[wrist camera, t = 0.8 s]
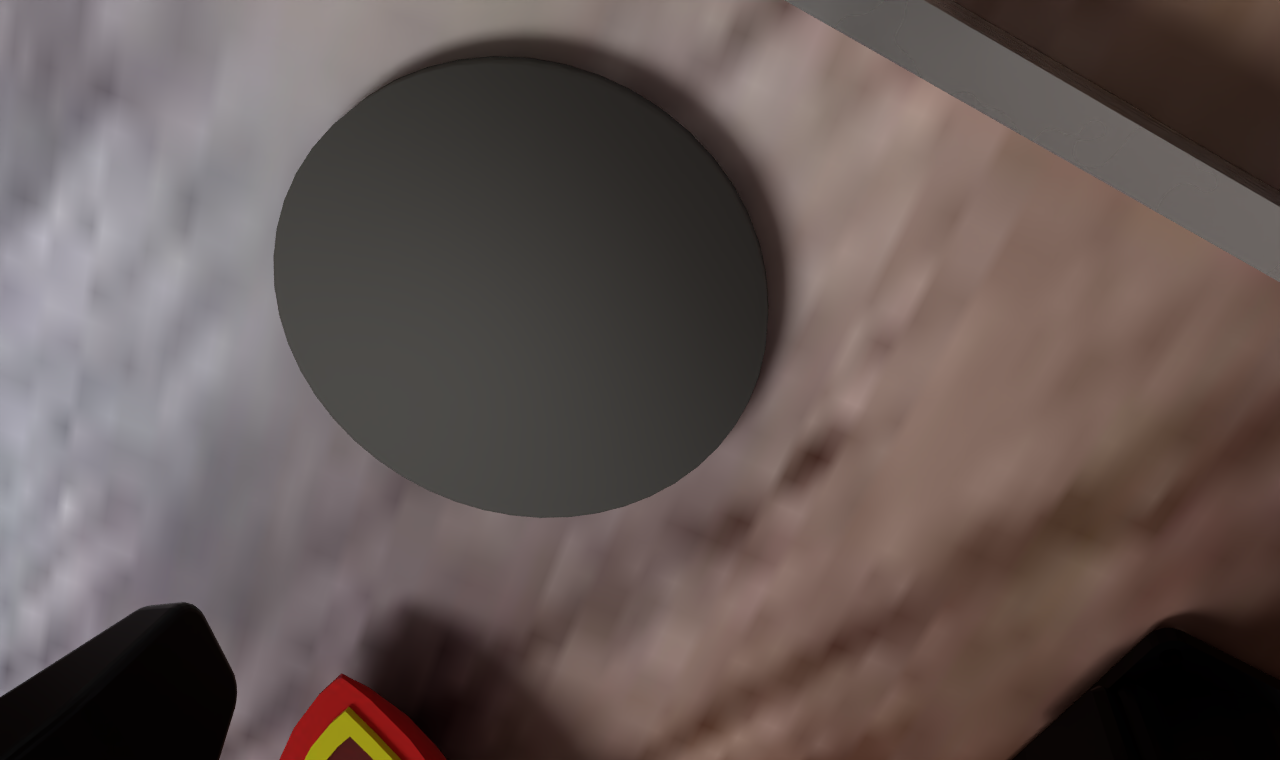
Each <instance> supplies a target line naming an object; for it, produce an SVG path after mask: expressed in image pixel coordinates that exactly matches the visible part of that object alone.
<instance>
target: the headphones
mask: <svg viewBox="0 0 1280 760" xmlns="http://www.w3.org/2000/svg"><path fill="white" fill-rule="evenodd" d="M280 760H447V759H446V758H445V757H444V755H443V754H442V753H441V751H440V750H439V749H438V748H437V747H436V746H435V744H434V743H433V742H432V741H431V740H430V739H429V738H428V737H427V736H426V735H425V734H424V733H423V732H422V731H421V729H420V728H419V727H418V726H417V725H416V724H415V723H414V722H413V721H412V720H411V719H410V718H409V717H408V716H407V715H406V714H405V713H403V712H402V711H401V710H399V709H398V708H396V707H395V706H394V705H392V704H391V703H390V702H388V701H387V700H386V699H384V698H383V697H381V696H380V695H379V694H377V693H376V692H375V691H373V690H372V689H370V688H369V687H367V686H365V685H363V684H361V683H359V682H357V681H355V680H353V679H351V678H349V677H347V676H346V675H344V674H341V675H339V676H338V677H337V678H336V679H335V680H334V681H333V682H332V683H331V684H330V685H329V686H327V687H326V688H325V689H324V690H323V691H322V692H321V693H320V694H319V695H318V697H317V698H316V699H315V701H314V702H313V703H312V705H311V706H310V707H309V709H308V710H307V711H306V713H305V714H304V715H303V717H302V718H301V719H300V721H299V722H298V723H297V725H296V726H295V727H294V729H293V731H292V734H291V736H290V738H289V740H288V742H287V744H286V747H285V749H284V751H283V753H282V755H281V758H280Z"/></svg>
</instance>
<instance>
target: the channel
mask: <svg viewBox="0 0 1280 760" xmlns="http://www.w3.org/2000/svg"><path fill="white" fill-rule="evenodd" d="M785 1H787V2H789V3H790V4H792V5H794V6H796V7H797V8H799V9H801V10H803V11H804V12H806V13H808V14H810V15H811V16H813V17H815V18H817V19H818V20H820V21H822V22H824V23H825V24H827V25H829V26H831V27H832V28H834V29H836V30H838V31H839V32H841V33H843V34H845V35H846V36H848V37H850V38H852V39H854V40H855V41H857V42H859V43H861V44H862V45H864V46H866V47H868V48H869V49H871V50H873V51H875V52H876V53H878V54H880V55H882V56H883V57H885V58H887V59H889V60H890V61H892V62H894V63H896V64H897V65H899V66H901V67H903V68H904V69H906V70H908V71H910V72H911V73H913V74H915V75H917V76H919V77H920V78H922V79H924V80H926V81H927V82H929V83H931V84H933V85H934V86H936V87H938V88H940V89H941V90H943V91H945V92H947V93H948V94H950V95H952V96H954V97H955V98H957V99H959V100H961V101H962V102H964V103H966V104H968V105H969V106H971V107H973V108H975V109H976V110H978V111H980V112H982V113H984V114H985V115H987V116H989V117H991V118H992V119H994V120H996V121H998V122H999V123H1001V124H1003V125H1005V126H1006V127H1008V128H1010V129H1012V130H1013V131H1015V132H1017V133H1019V134H1020V135H1022V136H1024V137H1026V138H1027V139H1029V140H1031V141H1033V142H1034V143H1036V144H1038V145H1040V146H1041V147H1043V148H1045V149H1047V150H1049V151H1050V152H1052V153H1054V154H1056V155H1057V156H1059V157H1061V158H1063V159H1064V160H1066V161H1068V162H1070V163H1071V164H1073V165H1075V166H1077V167H1078V168H1080V169H1082V170H1084V171H1085V172H1087V173H1089V174H1091V175H1092V176H1094V177H1096V178H1098V179H1099V180H1101V181H1103V182H1105V183H1106V184H1108V185H1110V186H1112V187H1114V188H1115V189H1117V190H1119V191H1121V192H1122V193H1124V194H1126V195H1128V196H1129V197H1131V198H1133V199H1135V200H1136V201H1138V202H1140V203H1142V204H1143V205H1145V206H1147V207H1149V208H1150V209H1152V210H1154V211H1156V212H1157V213H1159V214H1161V215H1163V216H1164V217H1166V218H1168V219H1170V220H1171V221H1173V222H1175V223H1177V224H1179V225H1180V226H1182V227H1184V228H1186V229H1187V230H1189V231H1191V232H1193V233H1194V234H1196V235H1198V236H1200V237H1201V238H1203V239H1205V240H1207V241H1208V242H1210V243H1212V244H1214V245H1215V246H1217V247H1219V248H1221V249H1222V250H1224V251H1226V252H1228V253H1229V254H1231V255H1233V256H1235V257H1236V258H1238V259H1240V260H1242V261H1243V262H1245V263H1247V264H1249V265H1251V266H1252V267H1254V268H1256V269H1258V270H1259V271H1261V272H1263V273H1265V274H1266V275H1268V276H1270V277H1272V278H1273V279H1275V280H1277V281H1279V282H1280V192H1279V191H1277V190H1276V189H1274V188H1272V187H1271V186H1269V185H1267V184H1265V183H1264V182H1262V181H1260V180H1259V179H1257V178H1255V177H1253V176H1252V175H1250V174H1248V173H1247V172H1245V171H1243V170H1241V169H1240V168H1238V167H1236V166H1235V165H1233V164H1231V163H1229V162H1228V161H1226V160H1224V159H1223V158H1221V157H1219V156H1217V155H1216V154H1214V153H1212V152H1211V151H1209V150H1207V149H1205V148H1204V147H1202V146H1200V145H1199V144H1197V143H1195V142H1193V141H1192V140H1190V139H1188V138H1187V137H1185V136H1183V135H1181V134H1180V133H1178V132H1176V131H1175V130H1173V129H1171V128H1169V127H1168V126H1166V125H1164V124H1163V123H1161V122H1159V121H1157V120H1156V119H1154V118H1152V117H1151V116H1149V115H1147V114H1145V113H1144V112H1142V111H1140V110H1139V109H1137V108H1135V107H1133V106H1132V105H1130V104H1128V103H1127V102H1125V101H1123V100H1121V99H1120V98H1118V97H1116V96H1115V95H1113V94H1111V93H1109V92H1108V91H1106V90H1104V89H1103V88H1101V87H1099V86H1097V85H1096V84H1094V83H1092V82H1091V81H1089V80H1087V79H1085V78H1084V77H1082V76H1080V75H1079V74H1077V73H1075V72H1073V71H1072V70H1070V69H1068V68H1067V67H1065V66H1063V65H1061V64H1060V63H1058V62H1056V61H1055V60H1053V59H1051V58H1049V57H1048V56H1046V55H1044V54H1043V53H1041V52H1039V51H1037V50H1036V49H1034V48H1032V47H1031V46H1029V45H1027V44H1025V43H1024V42H1022V41H1020V40H1019V39H1017V38H1015V37H1013V36H1012V35H1010V34H1008V33H1007V32H1005V31H1003V30H1001V29H1000V28H998V27H996V26H995V25H993V24H991V23H989V22H988V21H986V20H984V19H983V18H981V17H979V16H977V15H976V14H974V13H972V12H971V11H969V10H967V9H965V8H964V7H962V6H960V5H959V4H957V3H955V2H953V1H952V0H785Z"/></svg>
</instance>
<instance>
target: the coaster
mask: <svg viewBox="0 0 1280 760" xmlns="http://www.w3.org/2000/svg"><path fill="white" fill-rule="evenodd" d="M274 286H275V292H276V298H277V304H278V310H279V316H280V319H281V322H282V325H283V328H284V332H285V335H286V338H287V341H288V344H289V346H290V349H291V351H292V353H293V355H294V357H295V360H296V362H297V364H298V366H299V368H300V371H301V372H302V374H303V376H304V377H305V379H306V380H307V382H308V384H309V385H310V387H311V389H312V390H313V392H314V394H315V395H316V397H317V398H318V399H319V401H320V402H321V403H322V404H323V406H324V407H325V408H326V410H327V411H328V412H329V414H330V415H331V416H332V417H333V419H334V420H335V421H336V422H337V423H338V424H339V425H340V426H341V427H342V428H343V429H344V430H345V431H346V432H347V433H348V434H349V435H350V436H351V437H352V438H353V440H354V441H356V442H357V443H358V444H359V445H360V446H362V447H363V448H364V449H365V450H366V451H368V452H369V453H370V454H371V455H372V456H374V457H375V458H376V459H377V460H379V461H380V462H382V463H383V464H385V465H386V466H387V467H389V468H390V469H392V470H393V471H395V472H396V473H398V474H399V475H401V476H402V477H404V478H406V479H408V480H410V481H412V482H414V483H415V484H417V485H419V486H421V487H423V488H425V489H427V490H429V491H431V492H434V493H436V494H438V495H441V496H443V497H446V498H448V499H450V500H453V501H455V502H459V503H462V504H465V505H469V506H472V507H475V508H479V509H482V510H487V511H492V512H497V513H503V514H508V515H515V516H527V517H539V518H547V517H573V516H580V515H588V514H595V513H600V512H604V511H608V510H612V509H616V508H620V507H624V506H626V505H629V504H632V503H634V502H637V501H639V500H642V499H645V498H647V497H650V496H652V495H654V494H656V493H657V492H659V491H661V490H663V489H665V488H667V487H669V486H670V485H672V484H674V483H676V482H677V481H678V480H680V479H681V478H683V477H684V476H685V475H687V474H688V473H690V472H691V471H692V470H694V469H695V468H697V467H698V466H699V465H700V464H701V463H702V462H703V461H704V460H705V459H706V458H707V457H708V456H709V455H710V454H711V453H712V452H714V451H715V450H716V449H717V448H718V446H719V445H720V444H721V443H722V441H723V440H724V439H725V438H726V436H727V435H728V434H729V432H730V431H731V430H732V429H733V427H734V426H735V424H736V423H737V421H738V419H739V417H740V416H741V414H742V412H743V411H744V409H745V407H746V405H747V404H748V402H749V399H750V397H751V394H752V392H753V389H754V387H755V384H756V382H757V379H758V377H759V373H760V368H761V364H762V360H763V355H764V351H765V345H766V332H767V320H768V296H767V281H766V272H765V267H764V263H763V258H762V253H761V248H760V244H759V241H758V239H757V236H756V233H755V230H754V228H753V225H752V222H751V219H750V217H749V214H748V212H747V210H746V208H745V207H744V205H743V203H742V201H741V199H740V197H739V195H738V193H737V191H736V190H735V188H734V186H733V184H732V183H731V181H730V180H729V179H728V177H727V176H726V174H725V173H724V172H723V170H722V169H721V168H720V166H719V165H718V163H717V162H716V161H715V159H714V158H713V157H712V156H711V154H710V153H709V152H708V151H707V150H706V149H705V148H704V147H703V146H702V145H701V144H700V143H699V142H698V141H697V140H696V138H695V137H694V136H693V135H692V134H691V133H690V132H689V131H688V130H686V129H685V128H684V127H683V126H682V125H680V124H679V123H678V122H677V121H675V120H674V119H673V118H672V117H671V116H669V115H668V114H667V113H666V112H665V111H663V110H662V109H661V108H659V107H657V106H656V105H654V104H653V103H651V102H649V101H648V100H646V99H645V98H643V97H641V96H640V95H638V94H637V93H635V92H634V91H632V90H630V89H628V88H626V87H623V86H621V85H619V84H617V83H615V82H613V81H610V80H608V79H606V78H604V77H602V76H600V75H597V74H594V73H591V72H587V71H584V70H581V69H578V68H575V67H572V66H568V65H565V64H560V63H555V62H549V61H543V60H538V59H532V58H519V57H495V56H493V57H482V58H472V59H461V60H456V61H452V62H448V63H443V64H439V65H435V66H431V67H427V68H424V69H422V70H419V71H417V72H414V73H412V74H409V75H407V76H404V77H402V78H399V79H397V80H395V81H393V82H391V83H390V84H388V85H386V86H384V87H383V88H381V89H379V90H378V91H376V92H374V93H373V94H371V95H369V96H368V97H367V98H365V99H364V100H363V101H362V102H360V103H359V104H358V105H357V106H355V107H354V108H353V109H352V110H351V111H349V112H348V113H347V114H346V115H344V116H343V117H342V118H341V119H340V120H338V121H337V122H336V123H335V124H333V126H332V127H331V128H330V129H329V130H328V131H327V132H326V133H325V134H324V136H323V137H322V138H321V139H320V140H319V141H318V142H317V143H316V144H315V146H314V147H313V148H312V149H311V151H310V153H309V154H308V156H307V157H306V159H305V160H304V162H303V163H302V165H301V167H300V168H299V170H298V171H297V173H296V175H295V177H294V179H293V182H292V184H291V186H290V189H289V191H288V193H287V195H286V198H285V200H284V203H283V207H282V211H281V215H280V218H279V222H278V226H277V231H276V240H275V249H274Z"/></svg>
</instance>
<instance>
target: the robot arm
mask: <svg viewBox="0 0 1280 760" xmlns="http://www.w3.org/2000/svg"><path fill="white" fill-rule="evenodd" d="M1168 649H1175V650H1173V651H1171V652H1169V653H1162V652H1163V651H1165V650H1168ZM236 698H237V684H236V680H235V675H234V673H233V671H232V669H231V667H230V665H229V663H228V661H227V659H226V657H225V655H224V653H223V651H222V649H221V647H220V645H219V643H218V641H217V640H216V638H215V636H214V634H213V632H212V630H211V628H210V626H209V624H208V622H207V620H206V618H205V616H204V615H203V613H202V612H201V611H200V610H199V609H198V608H197V607H196V606H194V605H193V604H189V603H185V602H181V603H170V604H160V605H151V606H146V607H143V608H140V609H138V610H136V611H135V612H133V613H132V614H130V615H128V616H127V617H125V618H124V619H122V620H121V621H119V622H117V623H116V624H114V625H113V626H111V627H110V628H108V629H106V630H105V631H103V632H102V633H100V634H99V635H97V636H96V637H94V638H92V639H91V640H89V641H88V642H86V643H85V644H83V645H81V646H80V647H78V648H77V649H75V650H74V651H72V652H70V653H69V654H67V655H66V656H64V657H63V658H61V659H59V660H58V661H56V662H55V663H53V664H52V665H50V666H48V667H47V668H45V669H44V670H42V671H41V672H39V673H38V674H36V675H34V676H33V677H31V678H30V679H28V680H27V681H25V682H23V683H22V684H20V685H19V686H17V687H16V688H14V689H12V690H11V691H9V692H8V693H6V694H5V695H3V696H1V697H0V760H219V758H220V755H221V752H222V748H223V745H224V742H225V739H226V735H227V732H228V729H229V726H230V722H231V719H232V716H233V712H234V709H235V705H236ZM1013 760H1280V681H1279V680H1277V679H1275V678H1273V677H1272V676H1270V675H1268V674H1266V673H1264V672H1262V671H1260V670H1258V669H1256V668H1254V667H1252V666H1250V665H1248V664H1246V663H1244V662H1242V661H1240V660H1238V659H1236V658H1234V657H1232V656H1230V655H1228V654H1226V653H1224V652H1222V651H1220V650H1218V649H1216V648H1214V647H1212V646H1210V645H1208V644H1206V643H1204V642H1202V641H1200V640H1198V639H1197V638H1195V637H1193V636H1191V635H1189V634H1187V633H1185V632H1183V631H1180V630H1177V629H1174V628H1163V629H1159V630H1156V631H1154V632H1152V633H1151V634H1149V635H1147V636H1146V637H1145V638H1144V639H1143V640H1142V641H1141V642H1140V643H1139V644H1138V645H1137V646H1136V647H1134V648H1133V649H1132V650H1131V651H1130V652H1129V653H1128V654H1127V655H1126V656H1125V657H1124V658H1123V659H1121V660H1120V661H1119V662H1118V663H1117V664H1116V665H1115V666H1114V667H1113V668H1112V669H1111V670H1110V671H1108V672H1107V673H1106V674H1105V675H1104V676H1103V677H1102V678H1101V679H1100V680H1099V681H1098V682H1097V683H1095V684H1094V685H1093V686H1092V687H1091V688H1090V689H1089V690H1088V691H1087V692H1086V693H1085V694H1084V695H1082V696H1081V697H1080V698H1079V699H1078V700H1077V701H1076V702H1075V703H1074V704H1073V705H1072V706H1071V707H1069V708H1068V709H1067V710H1066V711H1065V712H1064V713H1063V714H1062V715H1061V716H1060V717H1059V718H1058V719H1056V720H1055V721H1054V722H1053V723H1052V724H1051V725H1050V726H1049V727H1048V728H1047V729H1046V730H1045V731H1043V732H1042V733H1041V734H1040V735H1039V736H1038V737H1037V738H1036V739H1035V740H1034V741H1033V742H1032V743H1030V744H1029V745H1028V746H1027V747H1026V748H1025V749H1024V750H1023V751H1022V752H1021V753H1020V754H1019V755H1017V756H1016V757H1015V758H1014V759H1013Z"/></svg>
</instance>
